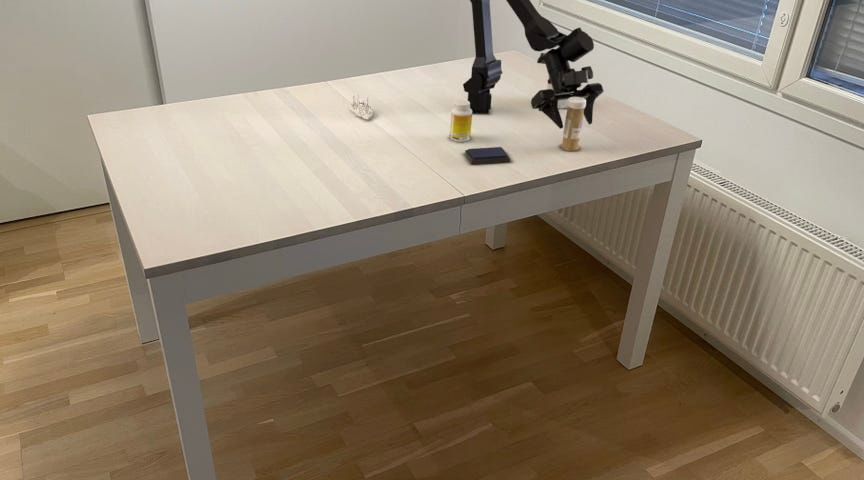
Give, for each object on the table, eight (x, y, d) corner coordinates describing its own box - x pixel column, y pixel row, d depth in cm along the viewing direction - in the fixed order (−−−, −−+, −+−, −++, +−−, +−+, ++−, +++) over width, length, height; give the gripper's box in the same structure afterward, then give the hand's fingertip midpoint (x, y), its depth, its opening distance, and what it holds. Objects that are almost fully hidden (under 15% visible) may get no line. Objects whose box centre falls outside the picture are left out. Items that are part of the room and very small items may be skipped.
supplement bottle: (473, 141, 194) (476, 104, 189) (455, 143, 193) (457, 107, 187) (464, 133, 199) (467, 97, 193) (446, 136, 197) (448, 99, 191)
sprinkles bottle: (577, 152, 189) (585, 103, 181) (559, 150, 190) (567, 101, 182) (579, 145, 192) (587, 97, 185) (561, 143, 193) (569, 95, 186)
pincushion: (377, 120, 206) (377, 101, 203) (356, 122, 205) (356, 103, 202) (364, 105, 216) (364, 87, 213) (345, 107, 214) (344, 89, 211)
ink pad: (471, 164, 182) (471, 158, 181) (464, 154, 187) (465, 148, 186) (509, 162, 183) (510, 156, 182) (501, 151, 189) (502, 145, 188)
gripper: (542, 59, 179) (560, 117, 176) (606, 52, 184) (624, 108, 181) (522, 80, 189) (539, 135, 186) (583, 73, 194) (600, 126, 192)
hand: (576, 126), depth 186 cm, fingers open, 8 cm apart
